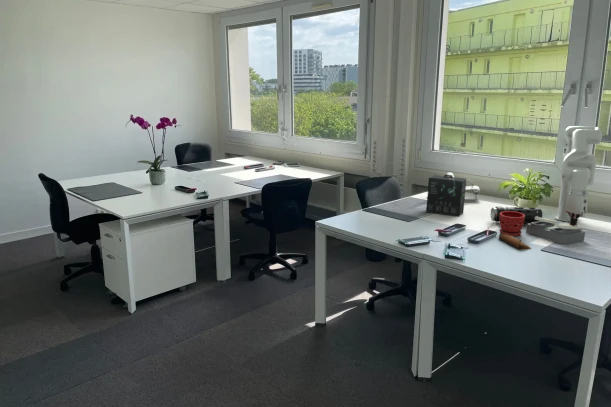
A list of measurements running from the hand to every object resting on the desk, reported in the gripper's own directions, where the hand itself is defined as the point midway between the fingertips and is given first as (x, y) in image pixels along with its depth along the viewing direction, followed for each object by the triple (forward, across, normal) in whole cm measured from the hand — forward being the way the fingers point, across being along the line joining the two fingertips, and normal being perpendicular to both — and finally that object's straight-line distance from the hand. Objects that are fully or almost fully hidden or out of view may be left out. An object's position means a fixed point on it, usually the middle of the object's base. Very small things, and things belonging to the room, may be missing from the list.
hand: (573, 225), depth 248 cm
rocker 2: (0, 0, +5) cm, 5 cm away
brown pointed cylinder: (+9, +5, +36) cm, 37 cm away
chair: (+9, +100, -9) cm, 100 cm away
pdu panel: (+8, +8, +5) cm, 13 cm away
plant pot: (+8, +20, +24) cm, 32 cm away
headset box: (+8, +73, +27) cm, 78 cm away
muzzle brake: (+8, +36, +4) cm, 37 cm away
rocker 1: (0, +13, +5) cm, 14 cm away
